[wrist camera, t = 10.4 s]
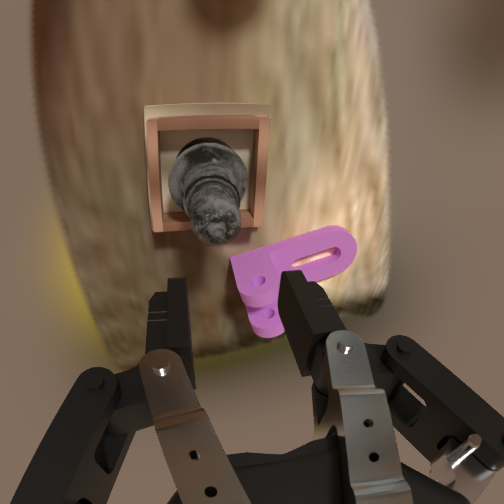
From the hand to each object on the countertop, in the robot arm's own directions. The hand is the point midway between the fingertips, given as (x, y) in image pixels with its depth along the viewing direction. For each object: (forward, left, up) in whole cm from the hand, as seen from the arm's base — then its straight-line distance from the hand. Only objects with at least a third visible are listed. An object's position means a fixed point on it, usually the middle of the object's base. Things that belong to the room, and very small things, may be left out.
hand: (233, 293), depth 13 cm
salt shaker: (0, 0, -16) cm, 16 cm away
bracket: (+10, +9, -18) cm, 22 cm away
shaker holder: (0, 0, -17) cm, 17 cm away
